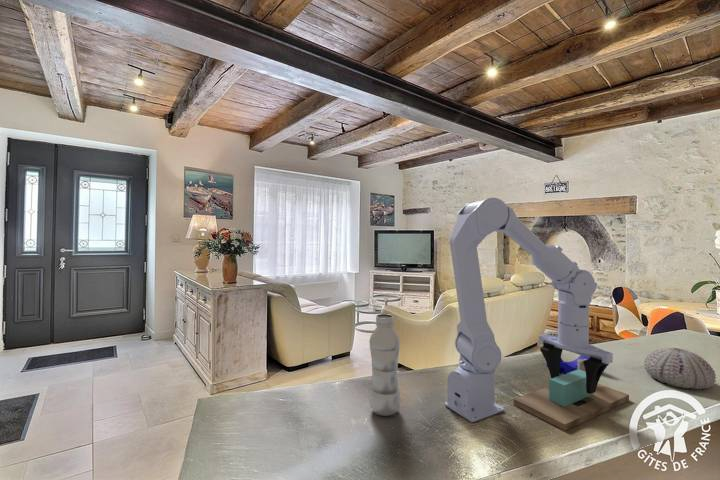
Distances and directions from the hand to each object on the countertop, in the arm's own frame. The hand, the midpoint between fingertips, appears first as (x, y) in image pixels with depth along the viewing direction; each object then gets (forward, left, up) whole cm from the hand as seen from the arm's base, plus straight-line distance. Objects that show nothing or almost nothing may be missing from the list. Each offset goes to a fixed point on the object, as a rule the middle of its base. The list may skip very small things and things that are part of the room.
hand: (572, 385), depth 74 cm
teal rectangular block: (0, 0, -3) cm, 3 cm away
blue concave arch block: (+18, +10, -4) cm, 21 cm away
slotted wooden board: (0, 0, -4) cm, 4 cm away
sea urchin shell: (+34, -6, -4) cm, 35 cm away
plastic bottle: (-38, +16, -4) cm, 42 cm away
